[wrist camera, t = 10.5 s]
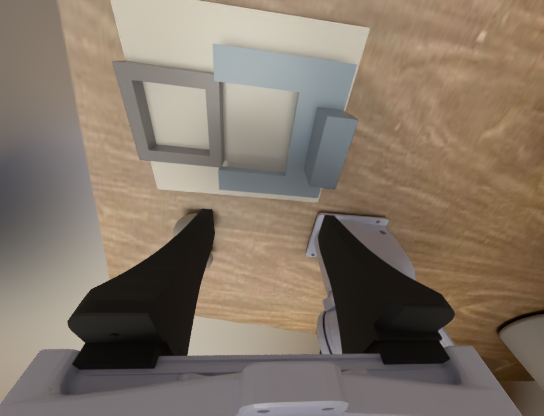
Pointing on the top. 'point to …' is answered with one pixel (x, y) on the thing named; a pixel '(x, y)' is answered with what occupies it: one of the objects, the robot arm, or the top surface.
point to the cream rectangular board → (214, 87)
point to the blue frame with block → (307, 118)
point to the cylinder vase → (527, 344)
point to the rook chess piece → (182, 224)
